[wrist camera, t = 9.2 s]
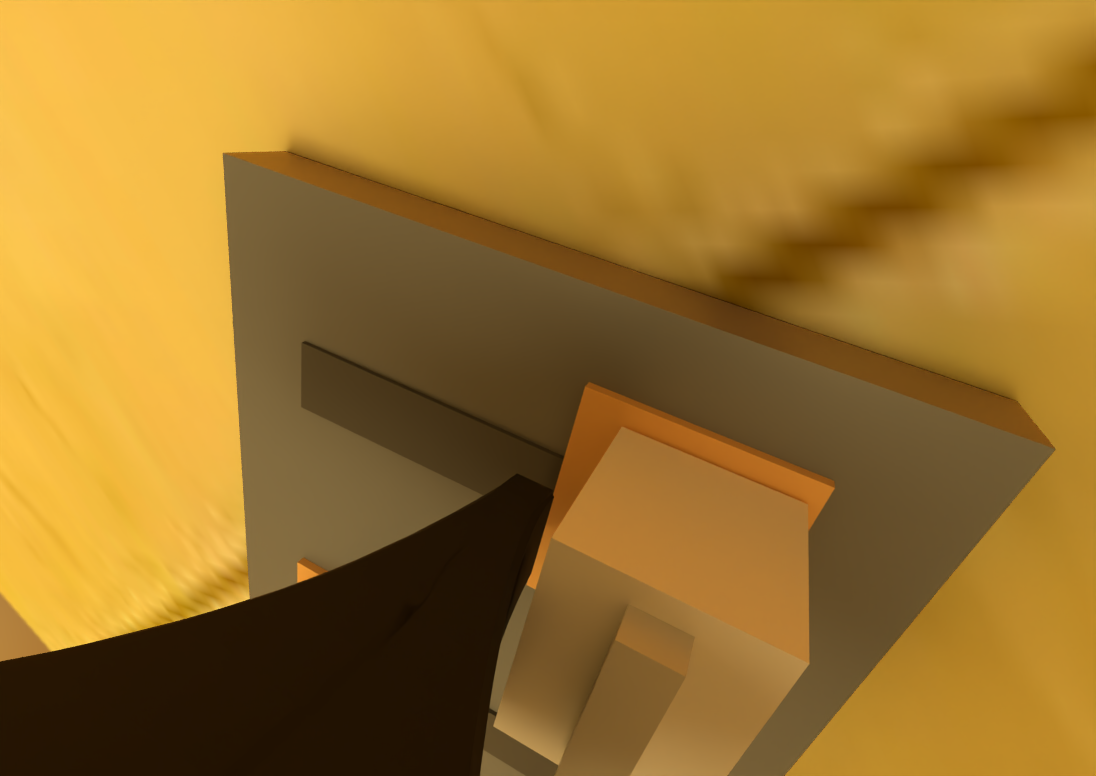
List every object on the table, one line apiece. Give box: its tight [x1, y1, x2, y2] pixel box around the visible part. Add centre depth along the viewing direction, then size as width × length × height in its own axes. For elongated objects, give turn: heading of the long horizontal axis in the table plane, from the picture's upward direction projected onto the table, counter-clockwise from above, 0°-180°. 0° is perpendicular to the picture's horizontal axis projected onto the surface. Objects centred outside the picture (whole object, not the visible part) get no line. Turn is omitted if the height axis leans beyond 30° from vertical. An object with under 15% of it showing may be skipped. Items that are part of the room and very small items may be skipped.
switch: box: [493, 427, 809, 776], centre depth 8 cm, size 3×4×4 cm
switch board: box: [223, 151, 1055, 776], centre depth 15 cm, size 14×24×2 cm, turn 168°
